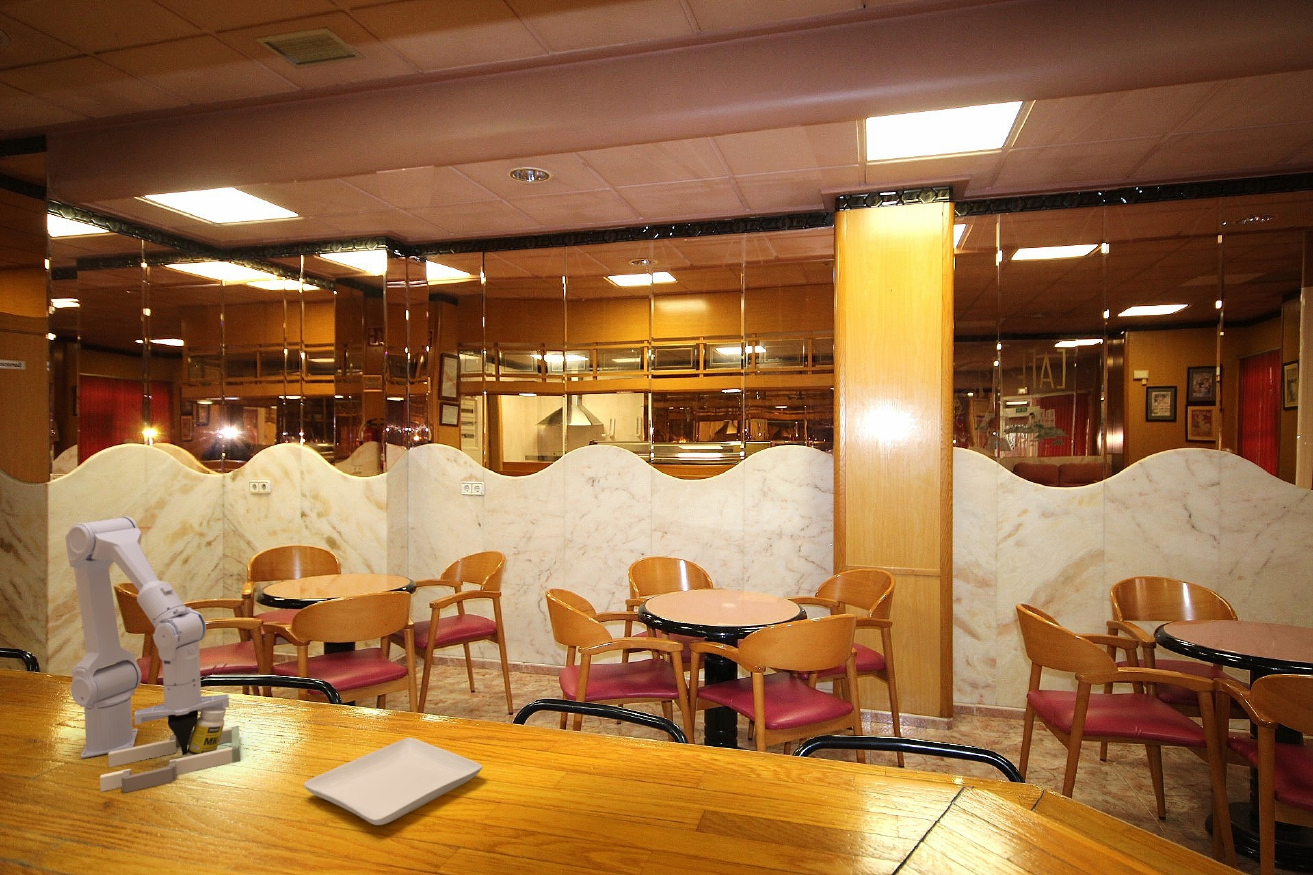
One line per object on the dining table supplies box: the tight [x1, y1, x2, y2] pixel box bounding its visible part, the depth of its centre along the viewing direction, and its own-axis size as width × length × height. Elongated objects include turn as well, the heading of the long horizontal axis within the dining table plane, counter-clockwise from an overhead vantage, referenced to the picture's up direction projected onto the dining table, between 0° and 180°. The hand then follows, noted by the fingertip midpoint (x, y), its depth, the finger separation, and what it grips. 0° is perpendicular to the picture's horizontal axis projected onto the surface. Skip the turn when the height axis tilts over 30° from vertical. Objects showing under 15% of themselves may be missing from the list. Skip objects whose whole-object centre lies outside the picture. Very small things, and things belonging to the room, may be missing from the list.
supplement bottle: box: [187, 707, 227, 756], centre depth 137 cm, size 5×5×8 cm
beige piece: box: [99, 725, 241, 794], centre depth 134 cm, size 17×21×2 cm
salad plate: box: [303, 737, 484, 826], centre depth 123 cm, size 21×21×3 cm
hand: (185, 752), depth 135 cm, fingers closed, pressing on supplement bottle
